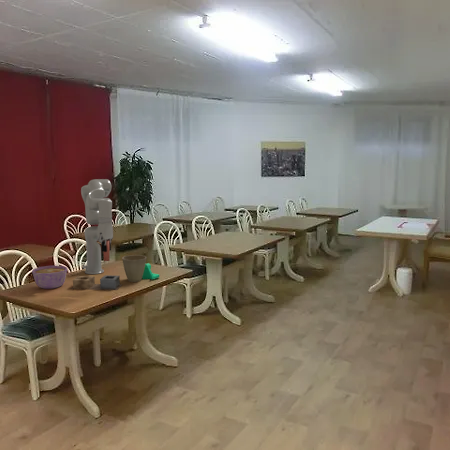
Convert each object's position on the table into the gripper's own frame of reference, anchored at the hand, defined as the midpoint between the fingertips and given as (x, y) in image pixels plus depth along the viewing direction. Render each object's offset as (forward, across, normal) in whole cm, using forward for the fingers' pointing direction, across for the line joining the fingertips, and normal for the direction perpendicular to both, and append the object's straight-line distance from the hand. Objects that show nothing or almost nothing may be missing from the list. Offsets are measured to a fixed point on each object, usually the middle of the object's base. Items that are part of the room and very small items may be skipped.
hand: (106, 250), depth 277 cm
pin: (+6, 0, 0) cm, 6 cm away
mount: (+22, +4, -14) cm, 27 cm away
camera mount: (+24, -31, +12) cm, 41 cm away
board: (+24, +1, -6) cm, 24 cm away
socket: (+22, -1, +2) cm, 22 cm away
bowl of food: (+24, +10, -33) cm, 42 cm away
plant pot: (+24, -20, +7) cm, 32 cm away
